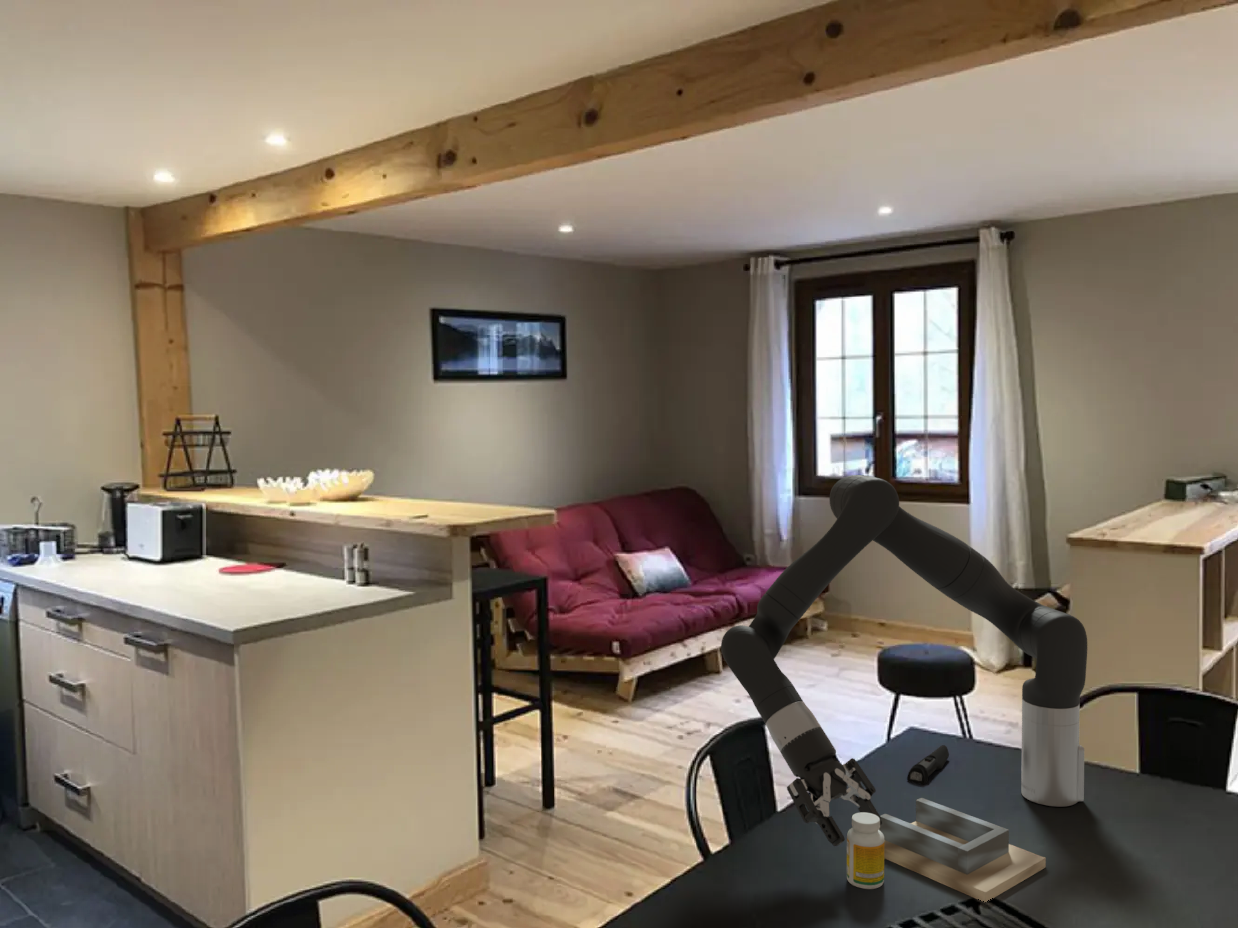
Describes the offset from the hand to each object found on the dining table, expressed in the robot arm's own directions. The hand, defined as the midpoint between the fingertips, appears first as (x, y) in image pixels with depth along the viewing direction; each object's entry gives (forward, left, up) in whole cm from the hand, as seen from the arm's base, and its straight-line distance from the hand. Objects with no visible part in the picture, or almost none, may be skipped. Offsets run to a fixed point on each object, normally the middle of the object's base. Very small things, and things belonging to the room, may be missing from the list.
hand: (859, 835), depth 144 cm
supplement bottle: (-1, +1, -7) cm, 7 cm away
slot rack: (-17, -3, -7) cm, 18 cm away
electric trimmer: (-28, -37, -7) cm, 47 cm away
